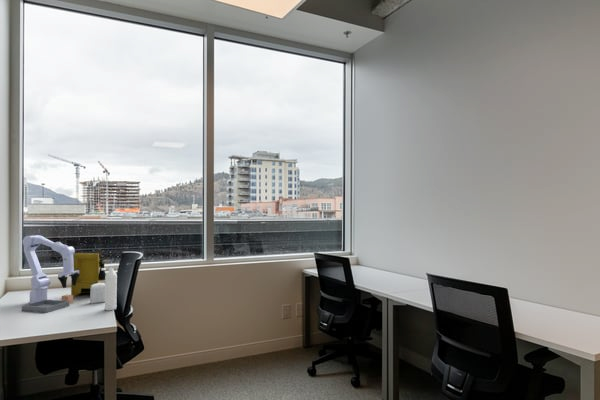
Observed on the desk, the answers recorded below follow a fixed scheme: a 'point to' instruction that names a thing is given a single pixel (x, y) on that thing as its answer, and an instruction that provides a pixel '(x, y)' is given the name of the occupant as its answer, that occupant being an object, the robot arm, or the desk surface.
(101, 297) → the photo printer
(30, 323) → the desk surface
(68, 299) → the terracotta block
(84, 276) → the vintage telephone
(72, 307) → the desk surface
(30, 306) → the bin
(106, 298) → the white spray bottle
